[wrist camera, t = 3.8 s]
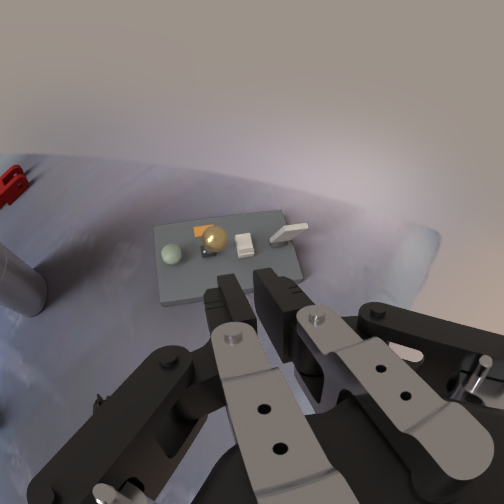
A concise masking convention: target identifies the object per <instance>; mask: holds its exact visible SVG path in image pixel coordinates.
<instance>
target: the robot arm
mask: <svg viewBox="0 0 504 504" xmlns="http://www.w3.org/2000/svg"><path fill="white" fill-rule="evenodd" d="M217 284H218V287H217V288H210V289H207V290H206V291H205V293H204V295H203V299H204V305H205V311H206V317H207V322H208V328H209V332H210V336H211V337H210V340H209V341H208V342H207V343H206V344H205V345H204V346H203V347H201V348H199V349H197V350H195V351H193V352H189V351H188V350H187V349H186V348H184V347H181V346H174V345H172V346H165V347H161V348H159V349H157V350H155V351H153V352H152V353H151V354H150V355H149V356H148V357H147V358H146V359H145V360H144V361H143V362H142V363H141V365H140V366H139V367H138V368H137V369H136V370H135V371H134V372H133V373H132V374H131V375H130V376H129V377H128V378H127V379H126V380H125V381H124V382H123V384H122V385H121V386H120V387H119V388H118V389H117V390H116V391H115V392H114V393H113V394H112V395H111V396H110V397H109V398H108V399H107V400H106V402H105V403H104V404H103V405H102V406H101V407H100V408H99V409H98V410H97V411H96V412H95V413H94V414H93V415H92V416H91V417H90V418H89V420H88V421H87V422H86V423H85V424H84V425H83V426H82V427H81V428H80V429H79V430H78V431H77V432H76V433H75V434H74V435H73V437H72V438H71V439H70V440H69V441H68V442H67V443H66V444H65V445H64V446H63V447H62V448H61V449H60V450H59V451H58V453H57V454H56V455H55V456H54V457H53V458H52V459H51V460H50V461H49V462H48V463H47V464H46V465H45V466H44V467H43V469H42V470H41V471H40V472H39V473H38V474H37V475H36V476H35V477H34V478H33V479H32V480H31V482H30V483H29V485H28V488H27V501H28V504H157V503H156V502H155V499H156V498H157V496H158V495H159V493H160V492H161V491H162V489H163V488H164V486H165V485H166V483H167V482H168V480H169V479H170V477H171V476H172V474H173V472H174V471H175V469H176V468H177V466H178V465H179V463H180V462H181V460H182V459H183V457H184V455H185V454H186V452H187V451H188V449H189V448H190V446H191V444H192V443H193V441H194V440H195V438H196V436H197V435H198V433H199V431H200V430H201V428H202V427H203V425H204V423H205V422H206V420H207V417H208V414H209V413H211V412H213V411H216V410H218V409H220V408H222V407H224V406H225V407H226V411H227V415H228V419H229V422H230V426H231V430H232V433H233V437H234V441H235V445H234V446H233V447H232V448H230V449H229V450H228V451H227V452H226V453H225V454H224V455H222V457H221V458H220V459H219V460H218V461H217V463H216V464H215V466H214V467H213V469H212V471H211V472H210V474H209V476H208V477H207V479H206V480H205V482H204V484H203V485H202V487H201V488H200V490H199V492H198V493H197V495H196V496H195V498H194V499H193V501H192V503H191V504H504V336H503V335H499V334H496V333H492V332H488V331H484V330H480V329H476V328H472V327H469V326H465V325H461V324H458V323H454V322H450V321H446V320H443V319H438V318H435V317H431V316H428V315H424V314H420V313H417V312H413V311H409V310H406V309H402V308H399V307H395V306H391V305H388V304H384V303H380V302H370V303H366V304H364V305H362V306H361V307H360V309H359V314H358V316H350V317H340V316H339V315H338V314H337V313H336V312H335V311H334V310H332V309H331V308H329V307H326V306H322V305H315V304H314V303H313V302H312V301H311V300H310V298H309V297H308V296H307V295H306V294H305V293H304V292H303V291H302V290H301V288H300V287H298V285H297V284H296V283H295V282H294V281H293V280H292V279H289V278H287V277H285V276H281V277H278V276H277V274H276V273H275V272H274V271H273V269H272V268H271V267H268V268H262V269H256V270H253V287H254V302H255V309H256V312H257V315H258V317H259V319H260V321H261V323H262V325H263V327H264V329H265V330H266V332H267V334H268V336H269V338H270V340H271V342H272V344H273V346H274V347H275V349H276V351H277V353H278V355H279V357H280V359H281V361H282V362H283V363H287V362H291V361H292V362H293V363H294V376H295V378H296V380H297V381H298V383H299V385H300V386H301V388H302V390H303V392H304V393H305V395H306V397H307V399H308V400H309V402H310V404H311V405H312V407H313V409H314V411H315V414H311V415H304V414H303V412H302V410H301V408H300V406H299V405H298V403H297V401H296V399H295V397H294V395H293V393H292V391H291V389H290V387H289V385H288V383H287V381H286V379H285V377H284V375H283V373H282V372H281V370H280V369H279V368H278V367H275V368H272V366H271V364H270V362H269V360H268V358H267V356H266V354H265V352H264V349H263V347H262V345H261V343H260V341H259V339H258V335H257V318H256V316H255V314H254V312H253V310H252V308H251V306H250V304H249V302H248V300H247V298H246V296H245V294H244V292H243V290H242V288H241V286H240V284H239V282H238V280H237V278H236V276H235V274H234V273H232V274H226V275H219V276H217ZM46 299H47V284H46V281H45V279H44V278H43V277H42V276H41V275H40V274H39V273H38V272H36V271H35V270H34V269H32V268H31V267H30V266H29V265H27V264H26V263H25V262H24V261H22V260H21V259H20V258H19V257H18V256H16V255H15V254H14V253H13V252H12V251H10V250H9V249H8V248H7V247H6V246H5V245H3V244H2V243H1V242H0V304H1V305H3V306H5V307H7V308H9V309H11V310H13V311H15V312H17V313H19V314H21V315H23V316H26V317H33V316H35V315H37V314H38V313H39V312H40V311H41V310H42V309H43V307H44V305H45V302H46ZM389 342H393V343H397V344H400V345H403V346H406V347H409V348H413V349H416V350H419V351H421V352H422V353H423V355H424V356H423V359H422V360H421V361H419V362H411V361H408V360H404V359H401V358H400V357H399V356H398V355H397V354H396V353H395V352H394V351H393V350H392V349H391V348H390V347H389Z"/></svg>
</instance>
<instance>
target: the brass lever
mask: <svg viewBox="0 0 504 504" xmlns="http://www.w3.org/2000/svg"><path fill="white" fill-rule="evenodd" d="M227 243H228V235H227V233H226V231H225V230H224V229H223V228H222V227H220V226H210V227H208V228H207V229H205V231H204V232H203V234H202V244H203V245H202V246H200V249H201V256H202V258H205V257H212V256H217V252H219V251H221V250H223V249H224V248H225V247H226V245H227Z"/></svg>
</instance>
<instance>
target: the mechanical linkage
mask: <svg viewBox="0 0 504 504" xmlns="http://www.w3.org/2000/svg"><path fill="white" fill-rule="evenodd" d="M16 173H17V175H16V176H13V175H14V174H16ZM20 183H21V185H19V186H18V184H20ZM27 188H28V180H27V178H26V176H25V175H24V173H23V170H22V168H21V166H19V165H14V166H12V167H11V168H9V169H8V170H7V171H6V172H5V173H4V174H3V175H2V176H1V177H0V208H1V207H2V206H3V205H4V204H5V203H6V202H7V203H8V205H9V206H10V205H11V204H12V203H13V202H14V201H15V200H16V199H17V198H18V197H19V196H20V195H21V194H22V193H23V192H24V191H25V190H26V189H27Z"/></svg>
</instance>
